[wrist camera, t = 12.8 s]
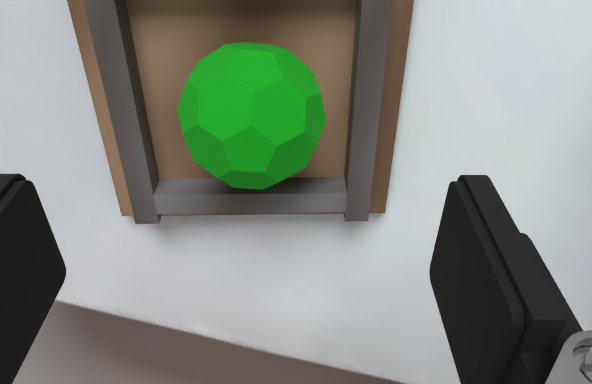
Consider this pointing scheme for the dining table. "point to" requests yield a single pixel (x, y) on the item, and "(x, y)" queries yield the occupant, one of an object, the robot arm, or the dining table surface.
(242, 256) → the dining table surface
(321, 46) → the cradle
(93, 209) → the dining table surface
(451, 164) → the dining table surface
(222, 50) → the polyhedron
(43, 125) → the dining table surface
